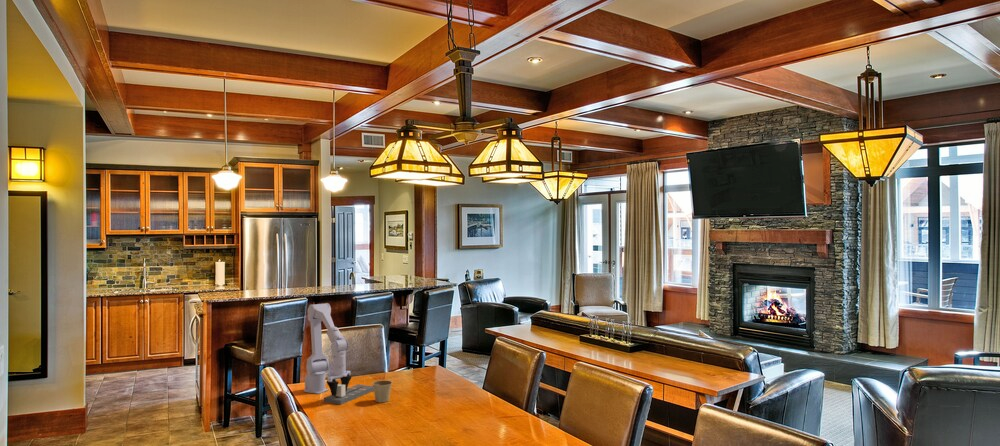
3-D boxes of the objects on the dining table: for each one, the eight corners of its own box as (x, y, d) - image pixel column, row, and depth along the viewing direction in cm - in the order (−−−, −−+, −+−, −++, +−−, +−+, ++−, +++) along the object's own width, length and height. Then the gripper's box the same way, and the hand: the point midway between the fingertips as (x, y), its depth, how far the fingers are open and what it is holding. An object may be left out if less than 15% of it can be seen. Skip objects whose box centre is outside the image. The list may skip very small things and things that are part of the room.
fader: (332, 395, 272) (332, 385, 272) (337, 394, 275) (337, 383, 275) (341, 396, 270) (341, 386, 270) (345, 395, 273) (345, 384, 273)
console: (323, 402, 270) (323, 397, 270) (358, 388, 294) (358, 384, 294) (340, 404, 266) (340, 400, 266) (374, 390, 290) (374, 386, 290)
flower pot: (394, 398, 276) (394, 380, 277) (388, 404, 267) (389, 385, 267) (375, 397, 277) (375, 379, 277) (369, 403, 268) (369, 385, 268)
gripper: (336, 369, 264) (335, 398, 264) (355, 362, 278) (355, 390, 278) (323, 367, 267) (323, 396, 267) (344, 361, 280) (343, 388, 280)
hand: (339, 393), depth 272 cm, fingers open, 7 cm apart
